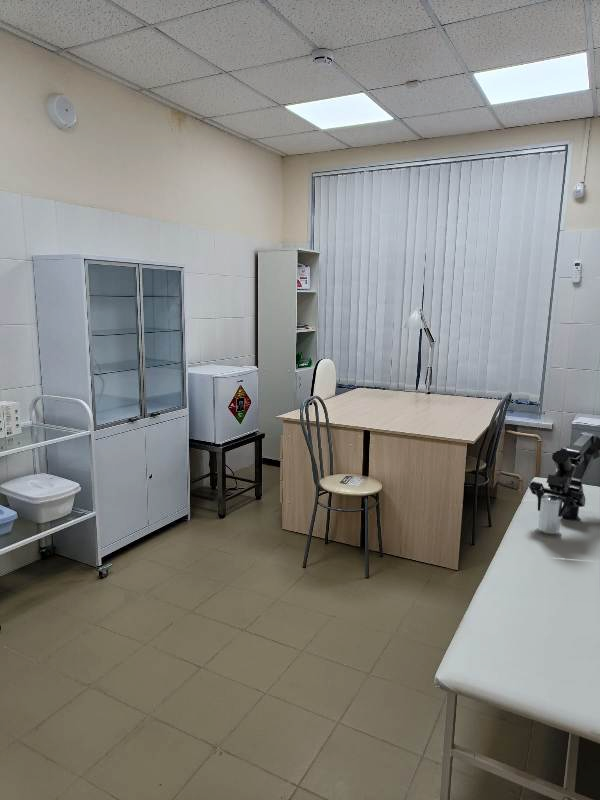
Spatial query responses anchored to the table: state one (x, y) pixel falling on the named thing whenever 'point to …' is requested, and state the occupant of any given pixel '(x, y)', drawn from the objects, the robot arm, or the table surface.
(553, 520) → the grey cup
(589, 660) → the table surface
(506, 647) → the table surface
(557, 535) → the rubber pad
